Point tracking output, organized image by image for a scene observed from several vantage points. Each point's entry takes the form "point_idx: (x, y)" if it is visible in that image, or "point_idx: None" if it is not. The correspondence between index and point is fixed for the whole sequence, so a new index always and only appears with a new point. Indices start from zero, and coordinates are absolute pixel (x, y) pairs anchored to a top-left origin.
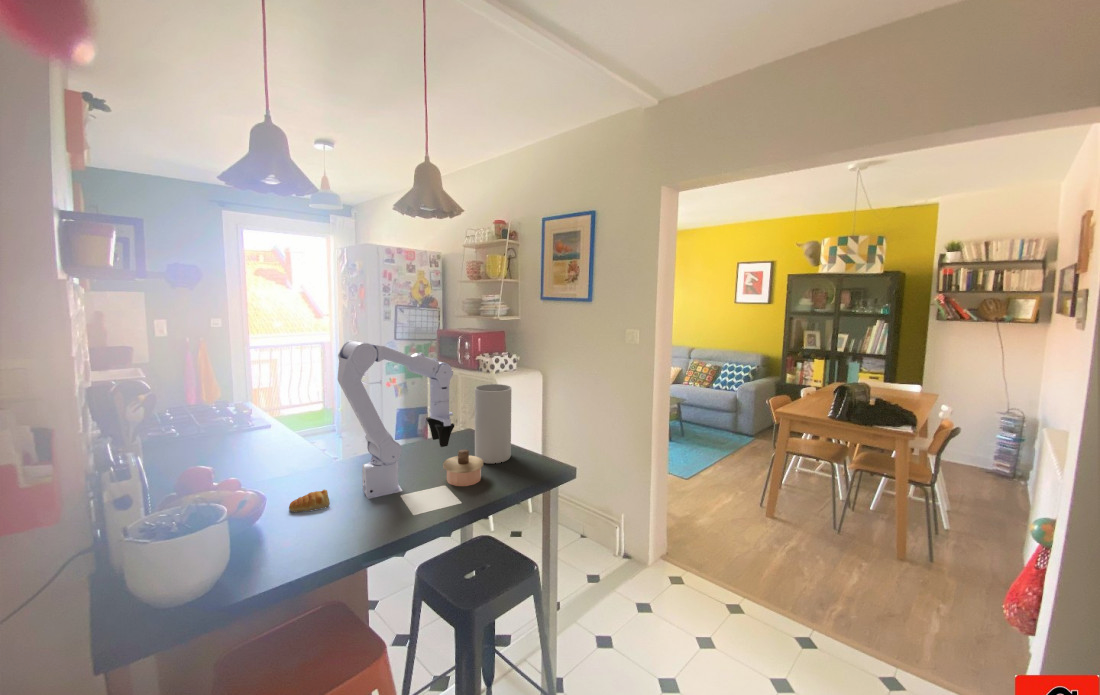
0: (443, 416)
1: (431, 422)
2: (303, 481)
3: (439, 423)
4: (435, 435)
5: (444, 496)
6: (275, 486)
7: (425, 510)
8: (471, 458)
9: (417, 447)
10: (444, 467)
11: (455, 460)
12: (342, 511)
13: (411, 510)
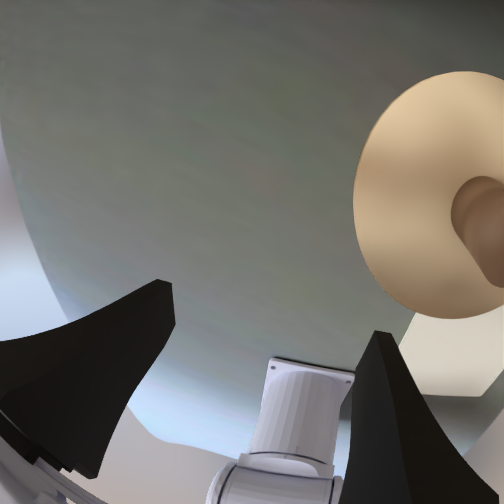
0: None
1: (96, 446)
2: (162, 418)
3: (77, 386)
4: (156, 334)
5: (491, 317)
6: (168, 435)
7: (491, 376)
8: (463, 122)
9: (26, 170)
10: (437, 314)
11: (421, 228)
12: (337, 445)
13: (463, 394)
